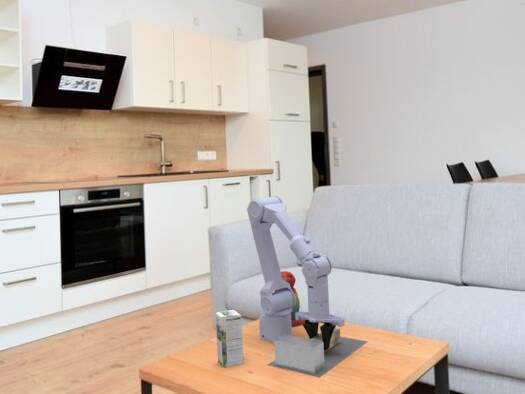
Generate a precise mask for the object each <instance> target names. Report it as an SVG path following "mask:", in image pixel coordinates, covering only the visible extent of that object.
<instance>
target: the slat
mask: <svg viewBox="0 0 525 394" xmlns="http://www.w3.org/2000/svg"><path fill="white" fill-rule="evenodd" d="M319 333H320V334H319ZM319 333H318V335H316V336H315V337H313V338H311V340H316V341H322V342H323V339H322V334H321V332H319ZM341 337H342V336H341V327H338V326H336V327H335V329H334V331H333V334H332V337H331V340H330V346H329V349H330V348H332V347H333V346H335V345H336V344H338V343H339V342H341ZM329 349H327V350H324V353H325V352H326V351H328V350H329Z"/></svg>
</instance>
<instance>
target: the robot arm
mask: <svg viewBox="0 0 525 394" xmlns="http://www.w3.org/2000/svg"><path fill="white" fill-rule="evenodd" d="M286 209H287V205H286V203H284V200H282V198H281V197H280V196H278V195H276V196H275V195H274V196H272V197H271V196H270V197H262V198H253V199H251V200H250V201H249V204H248V206H247V209H246V211H247V214H248V219H249V222H250V228H251V232H252V236H253V241H254V246H255V248H256V253H257V257H258V260H259V263H260V268H261V272H262V276H263V280H264V285H263V287H262V288H261V290H259V295H260V307H261V310H262V311H263V312H262V313H261V315H259V319H258V320H259V321H258V322H259V323H258V324H259V326H258V327H259V339H260V340H263V341H266V342H267V341H268V342H270V343H273V344H274V340H275V339H277V338H279V337H281V336H283V335H290V336H293V331H292V330H293V327H292V325H291V312H292V308H293V307H294V306H295V304H296V298H295V295H294V293H293V291H292V290H291V287H290V284H289V283H288V282H286V281H284V280H283V279H282V275H281V272H282V270H281V269H280V264H279V261H278V256H277V251H276V248H275V244H274V240H273V237H272V233H271V228H272V226H273V224H275V225H276V226H277V227H278V228H279V230H280V231H281V232H282V233H283V235H285V237H286V238H287V239H288V240H289V243H290V244H289V249H290V250H291V251H292V253H293V254H294V256H295V257H296V258H297V260H298V262H299V263H300V264H301V266H302V267H301V272H302V275H303V277H304V279H305V284H306V286H307V287H306V288H307V304H308V305H307V306H308V311H299V312H297V313H295V318H296V320H305V323H304V324H302V327H303V329H304V330H305V332H306V333H307V336H308V339H311V338H313V337H315V336H316V335H318V334H319V333H318V332H319V330H320V333H321V334H322V339H323V345H324V350H327V349H329V346H330V340H331V337H332V334H333V331H334V329H335V327H337V328H342V327H344V326H345V318H344V317H339V316H336V315H333V314H331V313H330V300H329V299H330V297H329V279H328V278H329V277H328V276H329V275H330V274H331V273H332V268H333V266H332V262H331V260H330V258H329V257H328V256H327V255H325V254H322V253H321V252H319V251H318V250H317V249H316V248H315V246H314V244H313V243H312V242H311V239H310V237H308V236H306V235H305V234H304V235H302V234H300V231H299V230H298V229H297V228H296V226H295V224H294V222H293V221H292V219H291V218H290V216H289V214H288V212H287V210H286ZM275 290H279V291H277V292H274V291H275ZM320 324H322V325H321V326H320Z"/></svg>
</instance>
